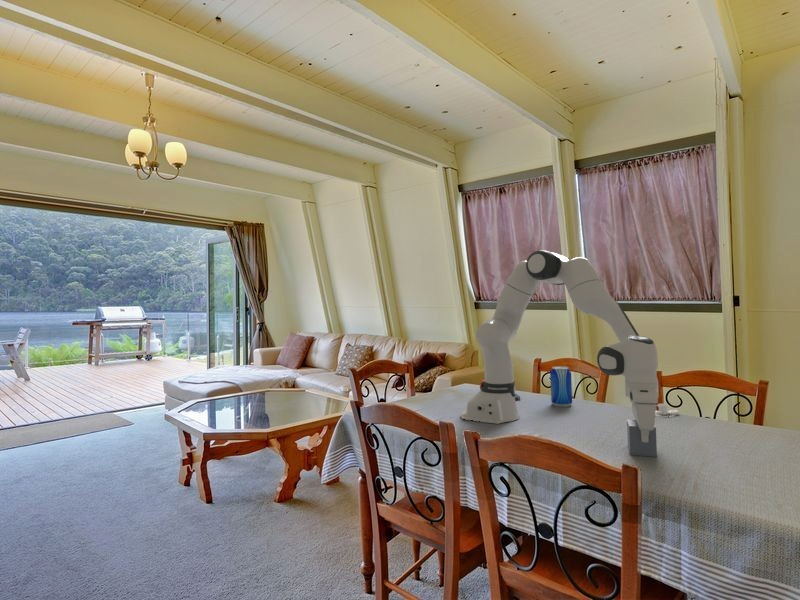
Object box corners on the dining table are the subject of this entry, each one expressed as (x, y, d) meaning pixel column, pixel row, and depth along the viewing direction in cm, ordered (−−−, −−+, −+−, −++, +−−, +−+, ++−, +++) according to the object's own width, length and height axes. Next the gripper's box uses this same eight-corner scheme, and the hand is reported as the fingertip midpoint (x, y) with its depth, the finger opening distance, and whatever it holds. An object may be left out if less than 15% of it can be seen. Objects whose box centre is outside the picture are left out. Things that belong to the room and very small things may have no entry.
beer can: (573, 407, 190) (572, 369, 190) (552, 407, 192) (551, 369, 191) (570, 402, 198) (569, 365, 198) (550, 402, 200) (548, 365, 200)
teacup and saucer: (680, 414, 175) (680, 404, 175) (674, 419, 169) (674, 408, 169) (655, 411, 181) (655, 401, 181) (648, 415, 176) (648, 405, 175)
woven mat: (515, 396, 217) (515, 391, 217) (521, 401, 206) (521, 397, 206) (493, 397, 216) (493, 393, 216) (498, 402, 206) (498, 398, 206)
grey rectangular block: (630, 454, 136) (629, 425, 136) (627, 446, 142) (626, 419, 142) (656, 456, 133) (655, 427, 133) (653, 448, 140) (652, 420, 140)
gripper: (626, 383, 148) (627, 425, 148) (633, 397, 129) (634, 446, 129) (648, 383, 146) (649, 427, 146) (658, 399, 127) (660, 448, 127)
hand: (642, 436), depth 138 cm, fingers open, 8 cm apart
